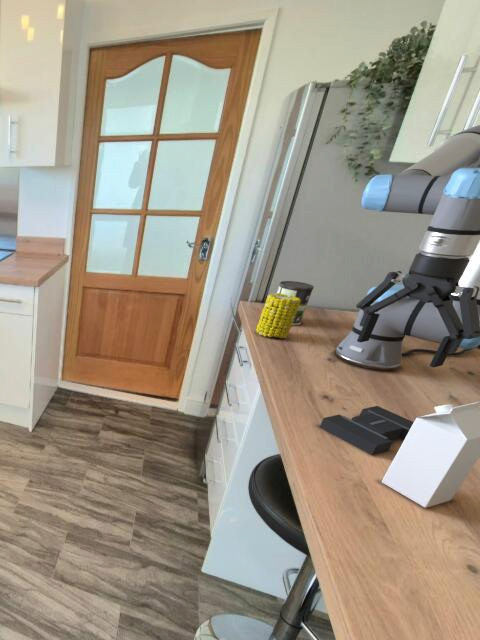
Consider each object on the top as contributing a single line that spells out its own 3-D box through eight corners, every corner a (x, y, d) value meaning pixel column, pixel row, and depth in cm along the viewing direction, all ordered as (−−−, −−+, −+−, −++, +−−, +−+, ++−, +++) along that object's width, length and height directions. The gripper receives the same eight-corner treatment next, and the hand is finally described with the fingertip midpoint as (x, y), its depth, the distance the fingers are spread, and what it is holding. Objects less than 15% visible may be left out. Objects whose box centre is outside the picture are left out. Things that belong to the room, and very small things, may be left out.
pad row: (372, 414, 104) (377, 404, 103) (428, 440, 94) (433, 430, 93) (319, 426, 99) (323, 417, 98) (371, 455, 90) (377, 444, 89)
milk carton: (451, 500, 78) (509, 412, 70) (424, 508, 76) (480, 419, 68) (406, 475, 84) (454, 391, 76) (380, 482, 82) (426, 397, 74)
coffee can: (300, 319, 164) (313, 283, 158) (301, 327, 156) (314, 289, 150) (268, 314, 169) (279, 279, 163) (268, 322, 161) (279, 285, 155)
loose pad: (366, 423, 100) (372, 412, 99) (398, 439, 95) (404, 427, 94) (347, 428, 99) (352, 417, 97) (378, 444, 93) (384, 432, 92)
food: (249, 338, 151) (265, 333, 156) (287, 341, 141) (302, 337, 146) (253, 294, 148) (268, 291, 153) (292, 295, 138) (307, 292, 143)
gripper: (360, 244, 93) (325, 334, 103) (521, 271, 72) (459, 381, 82) (383, 241, 95) (347, 330, 105) (548, 267, 74) (484, 375, 84)
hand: (396, 352), depth 93 cm, fingers open, 13 cm apart
